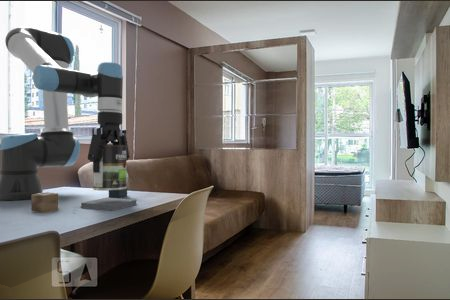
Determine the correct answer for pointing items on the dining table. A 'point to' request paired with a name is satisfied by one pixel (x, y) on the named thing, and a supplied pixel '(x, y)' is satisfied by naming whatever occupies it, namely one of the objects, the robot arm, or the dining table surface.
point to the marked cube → (44, 202)
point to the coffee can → (113, 168)
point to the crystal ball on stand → (119, 191)
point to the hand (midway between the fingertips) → (109, 181)
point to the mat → (108, 203)
